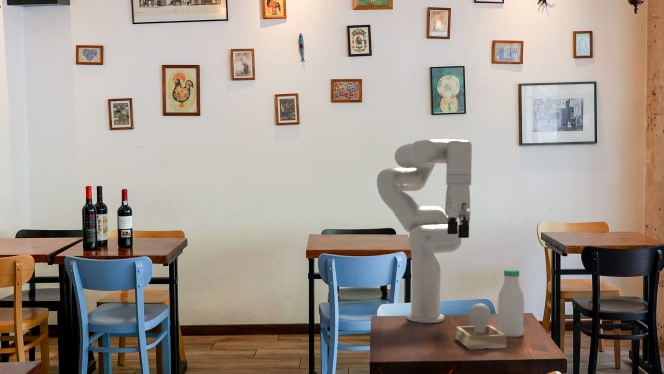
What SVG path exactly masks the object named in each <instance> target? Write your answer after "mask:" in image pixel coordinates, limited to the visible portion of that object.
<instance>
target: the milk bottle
mask: <svg viewBox="0 0 664 374" xmlns="http://www.w3.org/2000/svg"><path fill="white" fill-rule="evenodd" d="M503 277H504V280H503V283H502V286H501V288H500V291H499V293H498V301H497V302H498V303H497V330H499V331H500V332H502V333H504V334H505V335H507V338H508V337H509V338H510V337H511V338H517V337H521V336H523V335H524V321H525V319H524V317H525V313H524V312H525V310H524V309H525V302H524V301H525V299H524V298H525V296H524V293H523V290H522V288H521V285H520V282H519V281H520V280H519V278H520V270H518V269H514V268H513V269H512V268H507V269H504V270H503Z"/></svg>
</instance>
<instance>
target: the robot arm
mask: <svg viewBox="0 0 664 374" xmlns="http://www.w3.org/2000/svg"><path fill="white" fill-rule="evenodd" d="M472 149H473V147H472V142H471V141H470V140H468V139H437V138H436V139H422V140H421V139H420V140H417V141H414V142H413V143H407V144H402V145H401V146H399V147H397V149H396V151H395V152H394V160H395V162H396V164H397V165H398V166H399V167H389V168H385V169H383V170H381V171H380V172H379V173H378V175H377V178H376V187H377V190H378V193H379V196H380V199H381V200H382V201H383V203H384V204H385V205H386V206H387V207H388V208H389V209H390V210H391V211H392V212H393V214H394V216H395V218H396V219H397V220H398V222H399V223H400V225H401V226H402V228H403V229H404V230H405V231H406V232H407V233H409V235H408V243H409V248H410V254H411V255H410V256H411V300H410V301H411V306H410V307H411V309H410V310H411V311H410V312H408V313H407V314H406V319H407V320H408V321H411V322H414V323H421V324H433V323H434V324H436V323H441V322H444V320H445V315H444V314H442V313H441V265H440V262H439V261H438V259H437V258H436V255H435V254H441V253H452V252H455V251H457V250H458V249H459V248H460V247H461V244H462V239H468V238H470V220H471V196H470V195H471V191H470V190H471V189H470V186H472V160H473V159H472ZM436 164H446V176H445V177H446V178H445V179H446V180H445V182H446V185H445V186H446V192H445V205H444V206H445V207H444V209H443V208H442V207H440V206H439V205H419V204H418V203H417V202H416V201H415V199H414V198H413V197H412V196H411V195H410V194H408V193H407V192H415V191H416V192H417V191H419V190H422V189H424V187H425V186H426V184H427V182H428V180H429V178H430V176H431V174H432V171H433V170H434V169H435V165H436Z"/></svg>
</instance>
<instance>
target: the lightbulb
mask: <svg viewBox="0 0 664 374" xmlns="http://www.w3.org/2000/svg"><path fill="white" fill-rule="evenodd" d="M491 315H492V314H491V310H490V307H488V305H486V304H484V303H481V302H480V303H475V304H473V305H472V306H471V307H470V309H469V317H470V320H471V322H472V326H474V331H475V336H481V335H484V332H485V327H486V325H488V322H489V320H490V319H491Z"/></svg>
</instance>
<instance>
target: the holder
mask: <svg viewBox="0 0 664 374" xmlns="http://www.w3.org/2000/svg"><path fill="white" fill-rule="evenodd" d="M507 338H508V336H507V335H505V334H504V333H502V332H500V331H499V330H498V328H496V327H494V326H493V325H491V324H490V325H489V324H486V327H485V332H484V335H481V336H475V331H474V325H463V326H455V339H456V340H457V341H458V340H459V342H460V343H461V344H462V345H464V347H466V348H467V349H469V350H483V349H484V350H485V348H489V349H505V348H507Z"/></svg>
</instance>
